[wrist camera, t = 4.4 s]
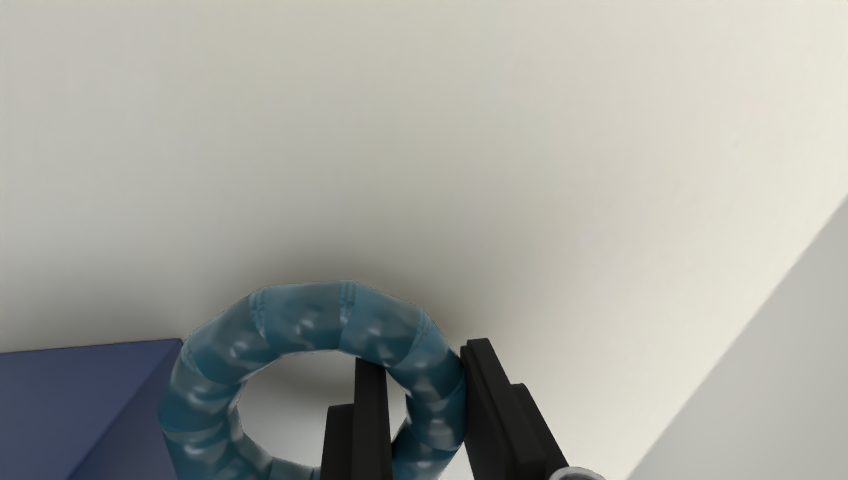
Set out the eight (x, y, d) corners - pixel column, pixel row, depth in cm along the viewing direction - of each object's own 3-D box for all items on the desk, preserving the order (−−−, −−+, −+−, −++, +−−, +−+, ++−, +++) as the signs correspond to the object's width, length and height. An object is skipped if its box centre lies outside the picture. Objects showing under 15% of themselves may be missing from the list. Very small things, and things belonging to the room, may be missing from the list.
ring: (145, 284, 9) (103, 321, 8) (459, 259, 10) (475, 287, 9) (213, 509, 12) (191, 569, 10) (459, 474, 13) (471, 524, 11)
